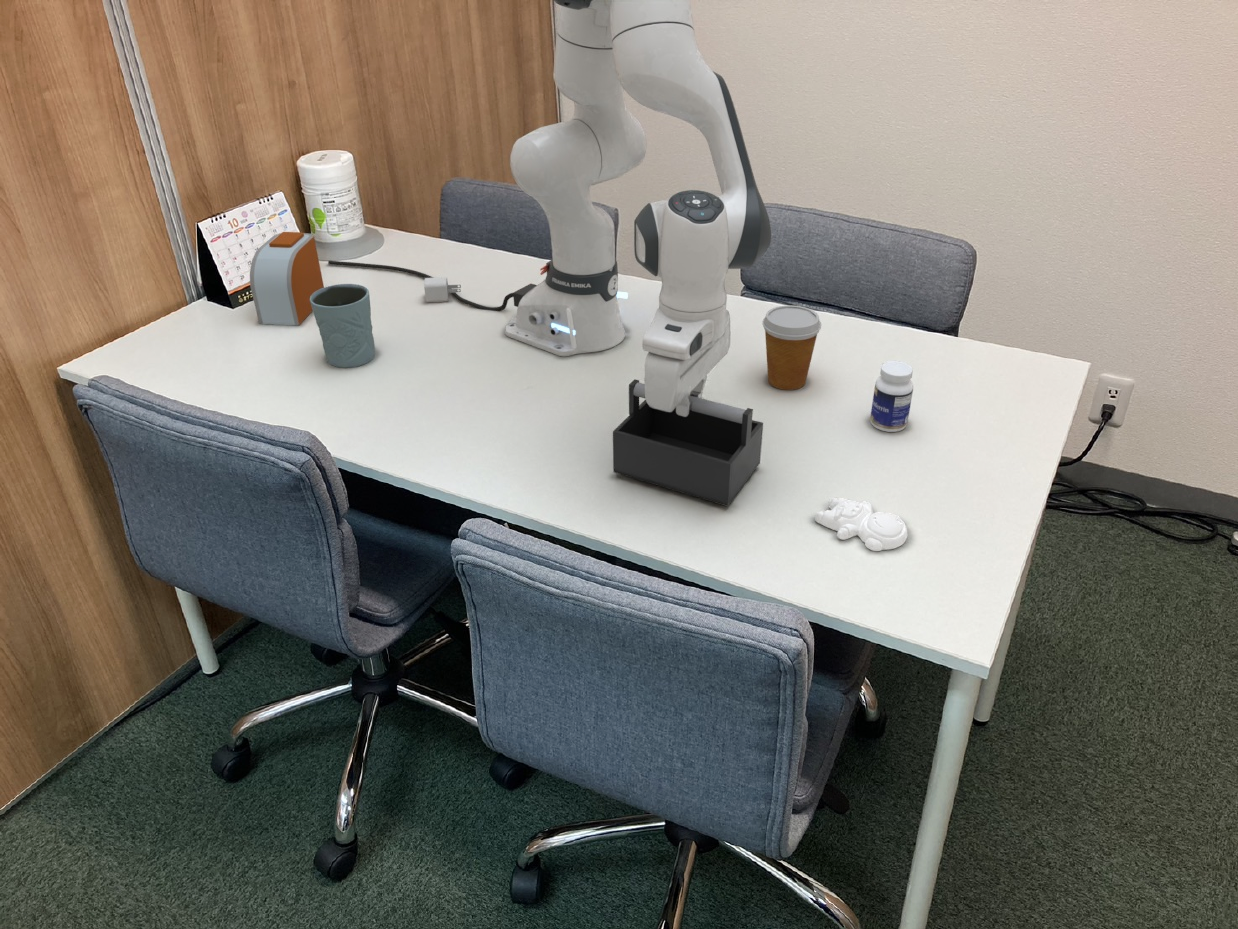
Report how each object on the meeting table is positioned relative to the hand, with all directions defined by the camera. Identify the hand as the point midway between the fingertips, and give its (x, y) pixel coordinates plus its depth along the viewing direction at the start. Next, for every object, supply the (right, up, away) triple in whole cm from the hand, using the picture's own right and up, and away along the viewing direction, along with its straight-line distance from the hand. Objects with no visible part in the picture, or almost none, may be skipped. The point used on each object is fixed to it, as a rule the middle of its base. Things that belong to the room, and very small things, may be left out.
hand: (688, 408), depth 139 cm
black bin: (0, -8, +6) cm, 10 cm away
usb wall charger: (-45, +25, +60) cm, 79 cm away
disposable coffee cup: (+19, +6, +29) cm, 35 cm away
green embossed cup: (-58, +11, +39) cm, 71 cm away
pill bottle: (+32, -2, +17) cm, 37 cm away
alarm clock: (-74, +23, +57) cm, 96 cm away
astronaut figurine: (+23, -16, -5) cm, 29 cm away
